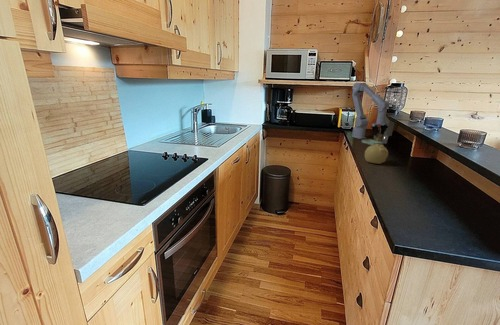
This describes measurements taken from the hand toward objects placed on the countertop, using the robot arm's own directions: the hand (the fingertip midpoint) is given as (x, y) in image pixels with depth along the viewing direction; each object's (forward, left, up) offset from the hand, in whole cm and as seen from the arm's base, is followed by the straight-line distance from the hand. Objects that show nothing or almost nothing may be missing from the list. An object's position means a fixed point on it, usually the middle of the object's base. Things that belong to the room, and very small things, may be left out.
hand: (378, 135), depth 199 cm
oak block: (0, 0, -5) cm, 5 cm away
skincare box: (-16, +27, -5) cm, 32 cm away
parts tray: (+4, -10, -5) cm, 12 cm away
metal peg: (+6, 0, -5) cm, 8 cm away
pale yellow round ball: (+39, -47, -5) cm, 61 cm away
